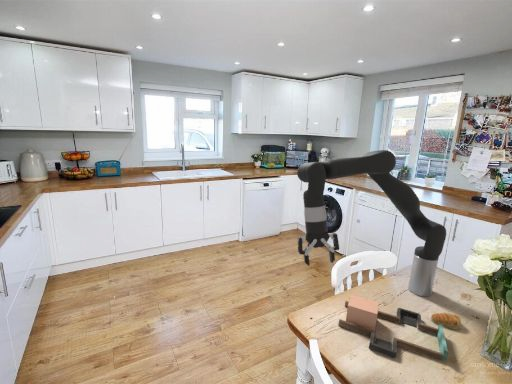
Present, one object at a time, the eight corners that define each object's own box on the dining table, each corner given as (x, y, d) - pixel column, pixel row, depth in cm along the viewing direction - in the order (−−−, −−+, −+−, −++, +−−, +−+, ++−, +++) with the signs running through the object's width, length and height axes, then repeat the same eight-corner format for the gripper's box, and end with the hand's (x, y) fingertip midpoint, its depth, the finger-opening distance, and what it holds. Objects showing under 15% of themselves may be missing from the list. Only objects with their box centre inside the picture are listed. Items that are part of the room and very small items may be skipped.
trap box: (347, 297, 119) (348, 288, 118) (437, 323, 104) (439, 314, 103) (334, 336, 95) (335, 326, 94) (448, 378, 81) (451, 366, 80)
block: (348, 311, 110) (351, 294, 108) (375, 319, 105) (378, 302, 104) (345, 323, 103) (347, 305, 101) (374, 332, 98) (377, 314, 97)
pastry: (434, 326, 103) (436, 317, 102) (427, 315, 109) (429, 307, 109) (463, 331, 101) (465, 322, 100) (453, 319, 108) (455, 310, 107)
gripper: (332, 214, 101) (336, 257, 102) (293, 219, 101) (298, 262, 102) (338, 218, 94) (343, 264, 95) (297, 223, 93) (302, 269, 95)
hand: (319, 263), depth 98 cm, fingers open, 8 cm apart
